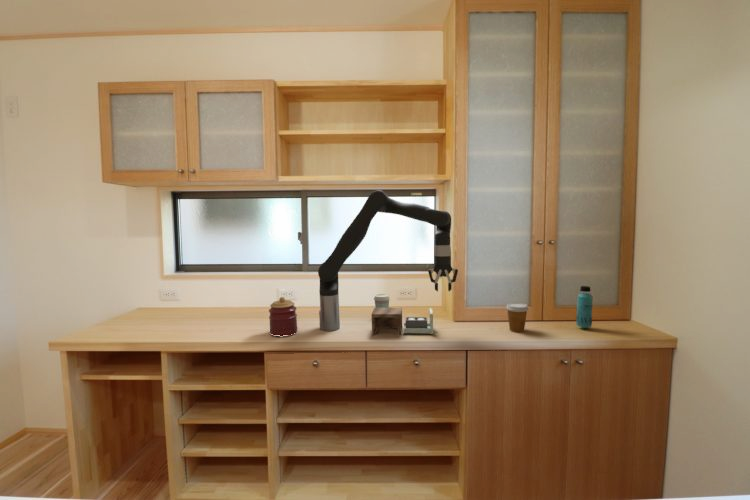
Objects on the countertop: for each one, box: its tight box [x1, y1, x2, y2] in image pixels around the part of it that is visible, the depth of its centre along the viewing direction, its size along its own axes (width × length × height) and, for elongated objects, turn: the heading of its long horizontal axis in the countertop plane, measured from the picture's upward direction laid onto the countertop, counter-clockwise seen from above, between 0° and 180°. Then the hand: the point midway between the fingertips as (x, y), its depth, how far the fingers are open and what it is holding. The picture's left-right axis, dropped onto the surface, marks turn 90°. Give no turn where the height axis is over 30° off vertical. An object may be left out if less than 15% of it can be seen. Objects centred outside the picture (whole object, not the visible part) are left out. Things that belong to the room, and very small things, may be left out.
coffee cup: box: [373, 293, 391, 308], centre depth 203 cm, size 8×8×12 cm
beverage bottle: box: [575, 285, 594, 328], centre depth 174 cm, size 6×7×20 cm
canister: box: [268, 296, 298, 336], centre depth 180 cm, size 13×13×18 cm
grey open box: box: [405, 316, 428, 328], centre depth 177 cm, size 10×6×4 cm, turn 84°
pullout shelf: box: [403, 307, 434, 335], centre depth 177 cm, size 14×10×9 cm
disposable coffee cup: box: [506, 302, 529, 333], centre depth 175 cm, size 10×10×12 cm
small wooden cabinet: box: [371, 307, 403, 337], centre depth 179 cm, size 14×12×10 cm
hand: (443, 290), depth 174 cm, fingers open, 5 cm apart
